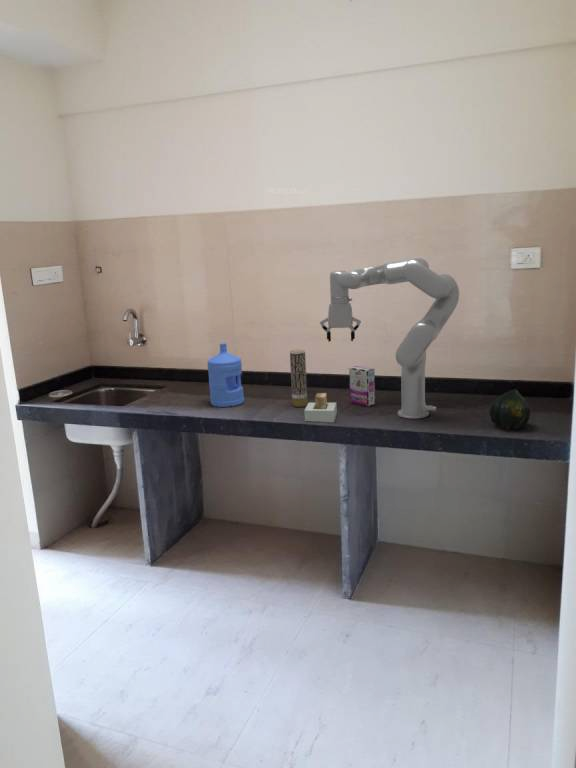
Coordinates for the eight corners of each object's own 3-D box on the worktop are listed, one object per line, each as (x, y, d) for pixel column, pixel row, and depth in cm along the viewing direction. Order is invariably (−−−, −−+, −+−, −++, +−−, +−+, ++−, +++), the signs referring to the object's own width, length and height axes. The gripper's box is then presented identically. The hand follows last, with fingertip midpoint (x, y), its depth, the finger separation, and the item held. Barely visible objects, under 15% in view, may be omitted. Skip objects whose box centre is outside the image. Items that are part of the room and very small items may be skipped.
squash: (485, 418, 237) (514, 389, 233) (480, 408, 252) (507, 380, 248) (514, 443, 237) (543, 413, 234) (507, 431, 252) (534, 404, 248)
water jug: (205, 407, 292) (200, 347, 285) (217, 398, 307) (212, 341, 300) (238, 408, 288) (233, 347, 281) (248, 398, 303) (244, 340, 296)
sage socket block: (336, 413, 272) (336, 402, 270) (333, 422, 260) (333, 410, 259) (309, 413, 274) (308, 402, 273) (304, 422, 262) (304, 410, 261)
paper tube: (289, 405, 288) (286, 351, 282) (300, 402, 292) (298, 349, 286) (299, 408, 283) (296, 353, 277) (310, 405, 287) (308, 350, 281)
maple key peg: (327, 415, 269) (326, 393, 267) (325, 420, 264) (324, 396, 261) (318, 415, 270) (317, 393, 268) (316, 420, 264) (315, 396, 262)
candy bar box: (375, 404, 283) (375, 368, 279) (368, 407, 279) (367, 370, 275) (357, 400, 291) (356, 365, 287) (349, 402, 288) (348, 367, 284)
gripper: (360, 299, 269) (361, 339, 273) (320, 300, 272) (321, 339, 276) (359, 301, 261) (360, 342, 266) (318, 302, 265) (319, 342, 269)
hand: (340, 340), depth 271 cm, fingers open, 9 cm apart
